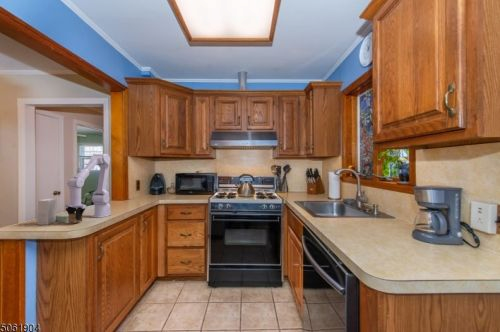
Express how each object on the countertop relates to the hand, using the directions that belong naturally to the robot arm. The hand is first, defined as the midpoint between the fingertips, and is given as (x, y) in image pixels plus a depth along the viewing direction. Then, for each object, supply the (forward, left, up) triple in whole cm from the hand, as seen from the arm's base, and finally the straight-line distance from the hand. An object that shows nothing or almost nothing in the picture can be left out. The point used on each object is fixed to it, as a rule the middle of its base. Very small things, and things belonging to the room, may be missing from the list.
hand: (75, 219), depth 151 cm
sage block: (-4, -12, -3) cm, 13 cm away
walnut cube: (0, 0, -1) cm, 1 cm away
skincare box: (+6, -15, -3) cm, 16 cm away
